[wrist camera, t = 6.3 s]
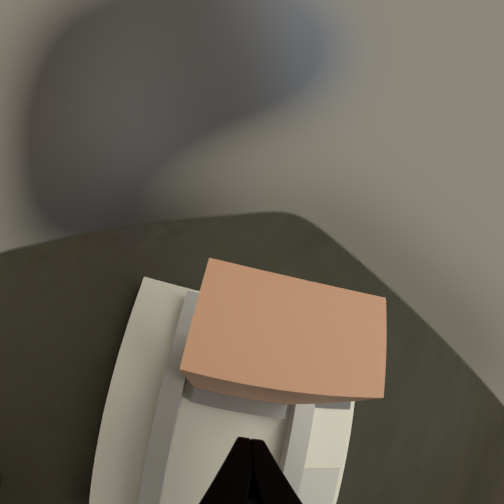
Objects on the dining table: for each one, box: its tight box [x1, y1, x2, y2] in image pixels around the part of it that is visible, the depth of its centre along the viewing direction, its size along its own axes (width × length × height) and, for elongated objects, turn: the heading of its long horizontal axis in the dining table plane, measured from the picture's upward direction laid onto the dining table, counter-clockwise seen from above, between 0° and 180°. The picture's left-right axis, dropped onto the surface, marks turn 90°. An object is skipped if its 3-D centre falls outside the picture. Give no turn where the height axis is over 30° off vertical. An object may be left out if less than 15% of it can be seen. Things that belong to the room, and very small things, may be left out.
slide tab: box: [180, 258, 386, 419], centre depth 9 cm, size 4×4×9 cm
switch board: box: [89, 277, 355, 504], centre depth 11 cm, size 16×13×2 cm
